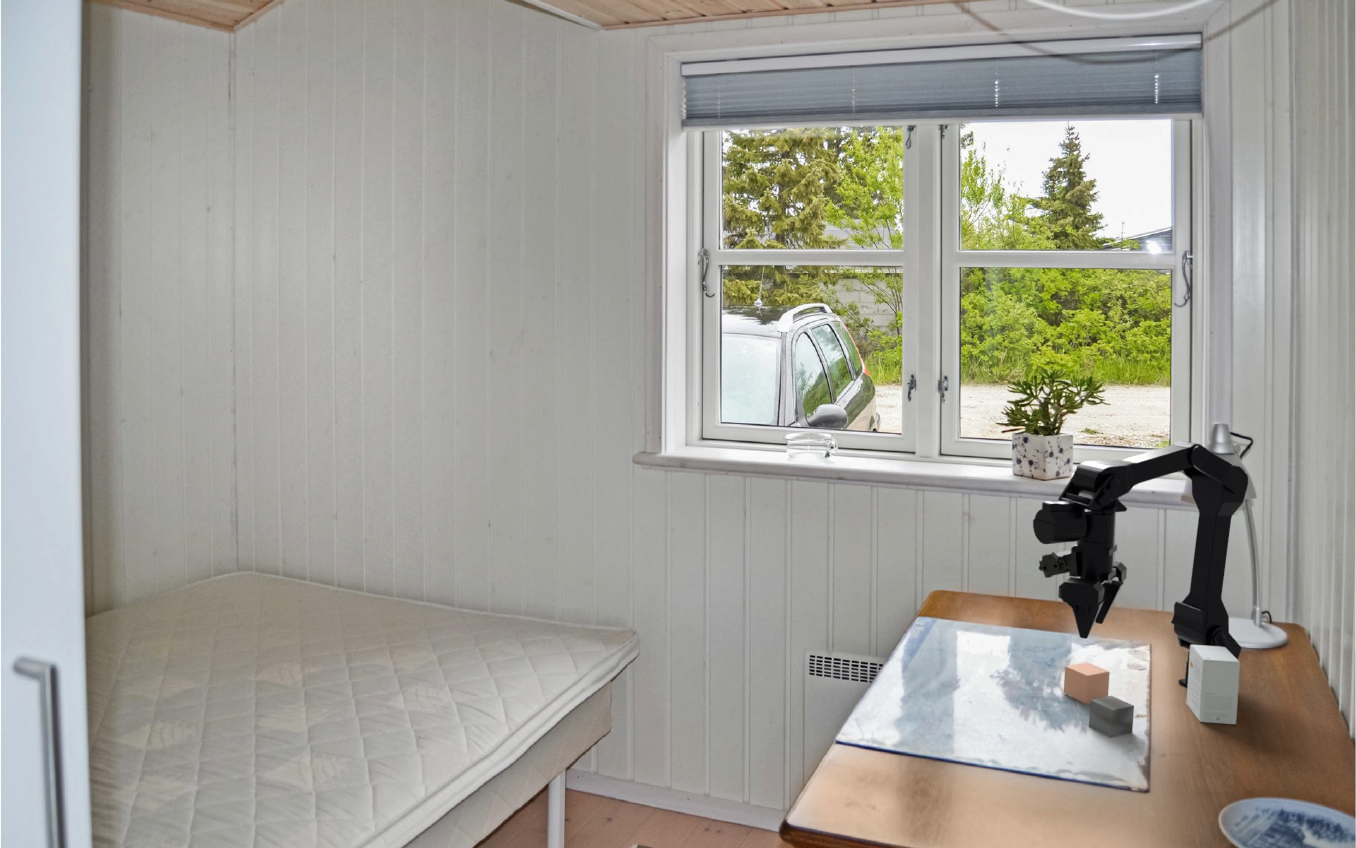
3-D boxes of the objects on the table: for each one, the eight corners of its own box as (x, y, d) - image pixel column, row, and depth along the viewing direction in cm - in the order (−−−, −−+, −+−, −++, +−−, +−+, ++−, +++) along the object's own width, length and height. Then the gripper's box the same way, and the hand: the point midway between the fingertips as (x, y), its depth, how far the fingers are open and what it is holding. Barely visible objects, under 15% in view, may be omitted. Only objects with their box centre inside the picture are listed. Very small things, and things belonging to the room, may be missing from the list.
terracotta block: (1085, 690, 185) (1086, 662, 184) (1107, 700, 180) (1109, 671, 180) (1063, 694, 183) (1065, 666, 182) (1085, 704, 178) (1087, 675, 177)
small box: (1236, 726, 170) (1241, 662, 168) (1198, 722, 171) (1203, 659, 169) (1221, 707, 177) (1226, 646, 176) (1185, 704, 179) (1189, 643, 177)
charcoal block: (1109, 722, 171) (1111, 695, 170) (1132, 733, 167) (1134, 705, 166) (1088, 727, 169) (1090, 700, 168) (1110, 738, 165) (1112, 710, 164)
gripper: (1062, 522, 187) (1059, 608, 189) (1027, 543, 172) (1024, 636, 174) (1129, 530, 181) (1125, 619, 183) (1099, 553, 166) (1095, 650, 168)
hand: (1091, 630), depth 177 cm, fingers open, 9 cm apart
